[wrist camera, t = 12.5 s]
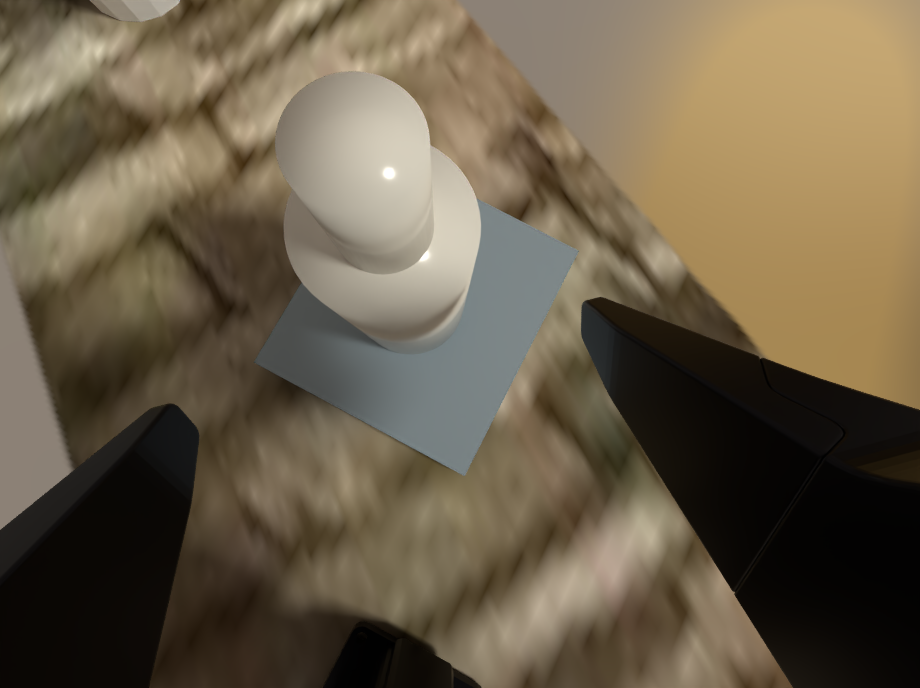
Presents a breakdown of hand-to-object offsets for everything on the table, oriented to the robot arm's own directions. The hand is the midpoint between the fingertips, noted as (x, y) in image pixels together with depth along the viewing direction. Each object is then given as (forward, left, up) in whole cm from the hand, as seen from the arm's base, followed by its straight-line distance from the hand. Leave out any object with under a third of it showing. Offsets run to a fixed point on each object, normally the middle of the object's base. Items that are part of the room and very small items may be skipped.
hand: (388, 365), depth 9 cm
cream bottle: (+3, +2, -10) cm, 11 cm away
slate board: (+3, +2, -11) cm, 12 cm away
